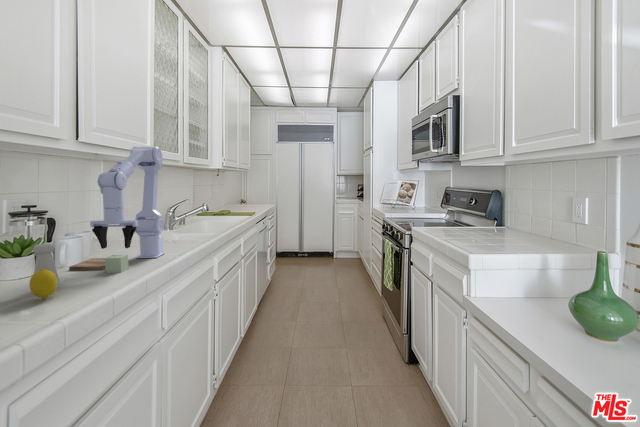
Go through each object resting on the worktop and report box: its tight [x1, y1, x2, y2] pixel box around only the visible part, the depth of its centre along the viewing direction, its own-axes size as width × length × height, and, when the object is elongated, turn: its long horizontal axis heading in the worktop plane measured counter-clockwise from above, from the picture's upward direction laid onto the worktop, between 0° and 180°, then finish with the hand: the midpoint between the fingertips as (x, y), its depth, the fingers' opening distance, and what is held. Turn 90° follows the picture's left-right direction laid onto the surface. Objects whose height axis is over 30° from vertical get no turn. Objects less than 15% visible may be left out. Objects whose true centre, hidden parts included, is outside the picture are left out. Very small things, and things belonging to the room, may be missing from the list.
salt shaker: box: [33, 242, 60, 286], centre depth 94 cm, size 6×6×13 cm
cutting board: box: [68, 257, 106, 271], centre depth 122 cm, size 13×11×1 cm
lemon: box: [29, 269, 58, 300], centre depth 87 cm, size 6×6×8 cm
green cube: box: [104, 254, 129, 274], centre depth 115 cm, size 5×5×5 cm
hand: (115, 247), depth 114 cm, fingers open, 7 cm apart
